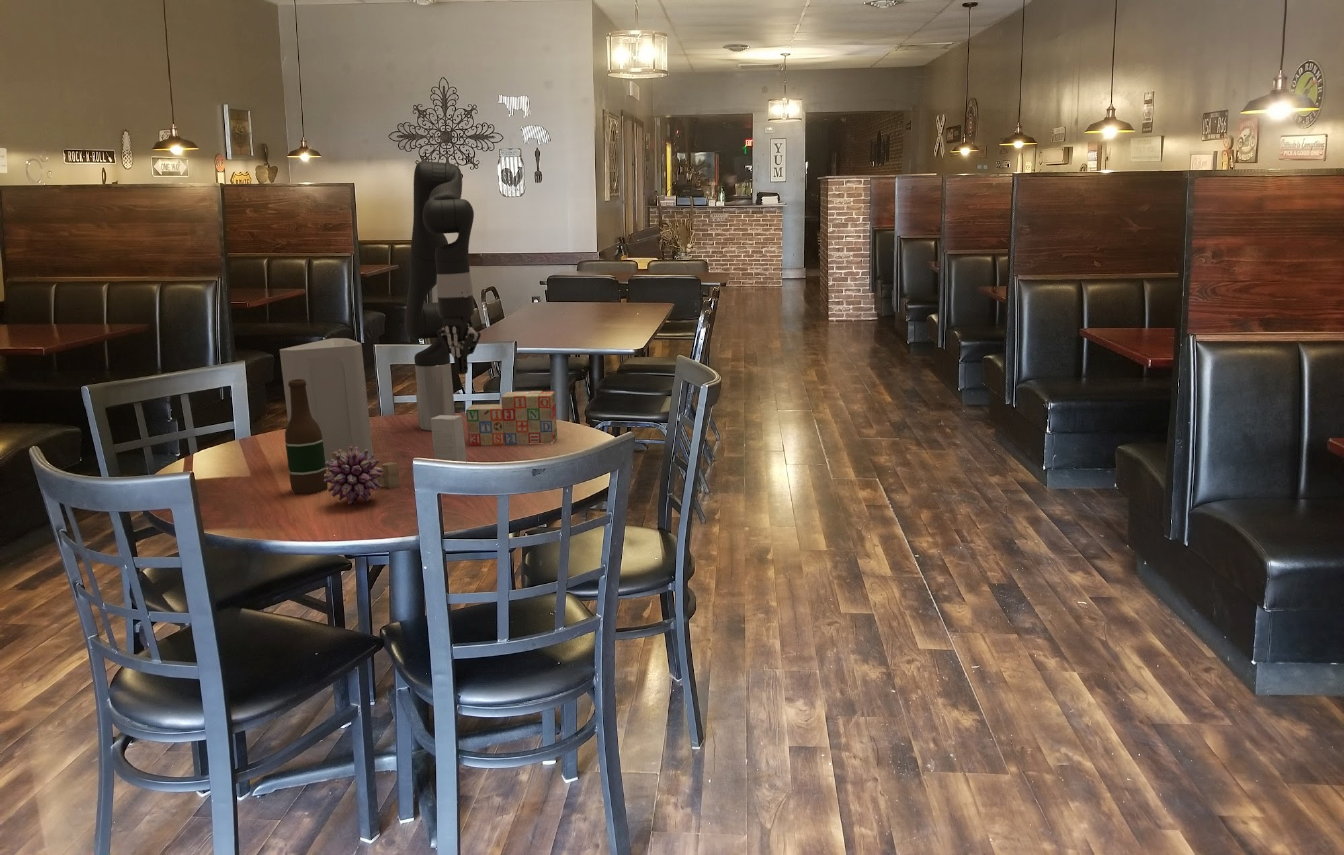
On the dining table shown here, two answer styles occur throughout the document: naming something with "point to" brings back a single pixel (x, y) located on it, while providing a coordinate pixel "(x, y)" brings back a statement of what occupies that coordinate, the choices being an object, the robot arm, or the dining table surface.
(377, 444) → the dining table surface
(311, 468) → the beer bottle
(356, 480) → the flower
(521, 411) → the stack of blocks
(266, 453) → the dining table surface
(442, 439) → the skincare box
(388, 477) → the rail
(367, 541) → the dining table surface
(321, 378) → the paper bag
